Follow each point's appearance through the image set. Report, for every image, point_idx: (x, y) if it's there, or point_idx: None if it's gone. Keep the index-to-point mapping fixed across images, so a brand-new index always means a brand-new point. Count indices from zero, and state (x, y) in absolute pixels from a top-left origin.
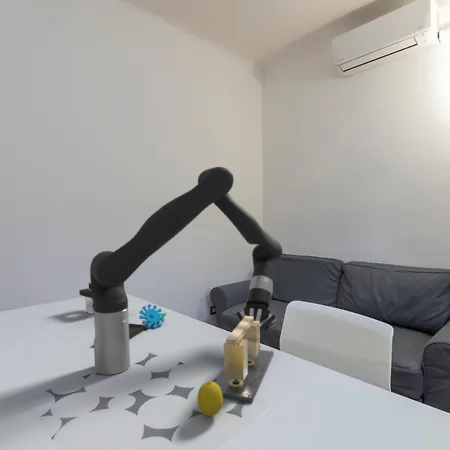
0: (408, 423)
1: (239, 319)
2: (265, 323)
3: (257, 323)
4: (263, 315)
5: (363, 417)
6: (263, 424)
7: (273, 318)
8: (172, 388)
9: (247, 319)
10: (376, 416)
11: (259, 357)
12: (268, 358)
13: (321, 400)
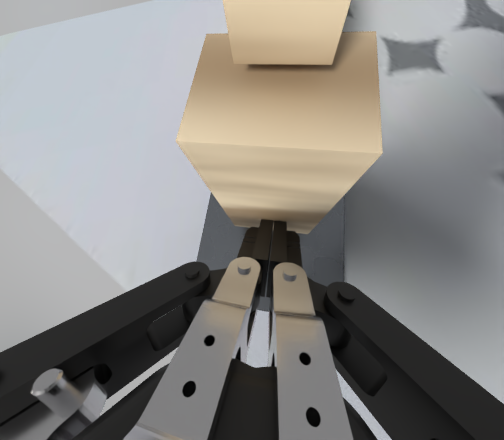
0: (3, 65)
1: (466, 379)
2: (146, 301)
3: (198, 88)
4: (107, 436)
5: (60, 63)
6: (220, 15)
7: (8, 355)
8: (440, 59)
9: None
10: (39, 69)
11: (241, 234)
12: (208, 230)
13: (111, 89)
